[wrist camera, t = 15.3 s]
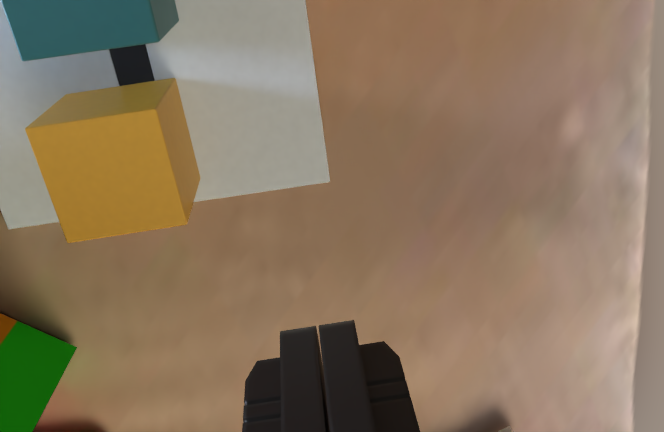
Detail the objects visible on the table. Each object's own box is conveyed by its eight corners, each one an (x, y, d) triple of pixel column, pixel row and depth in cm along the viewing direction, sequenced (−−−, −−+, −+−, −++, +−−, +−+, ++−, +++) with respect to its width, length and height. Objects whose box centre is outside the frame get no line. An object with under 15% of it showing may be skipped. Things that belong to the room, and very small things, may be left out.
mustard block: (65, 94, 27) (23, 128, 23) (175, 77, 27) (155, 108, 23) (98, 194, 30) (66, 243, 25) (201, 178, 30) (187, 225, 25)
